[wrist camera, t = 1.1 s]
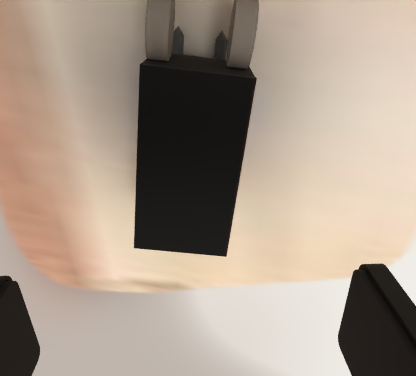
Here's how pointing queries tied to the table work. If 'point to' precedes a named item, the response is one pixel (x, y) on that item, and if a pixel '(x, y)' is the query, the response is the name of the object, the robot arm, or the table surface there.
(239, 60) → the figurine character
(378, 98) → the table surface
